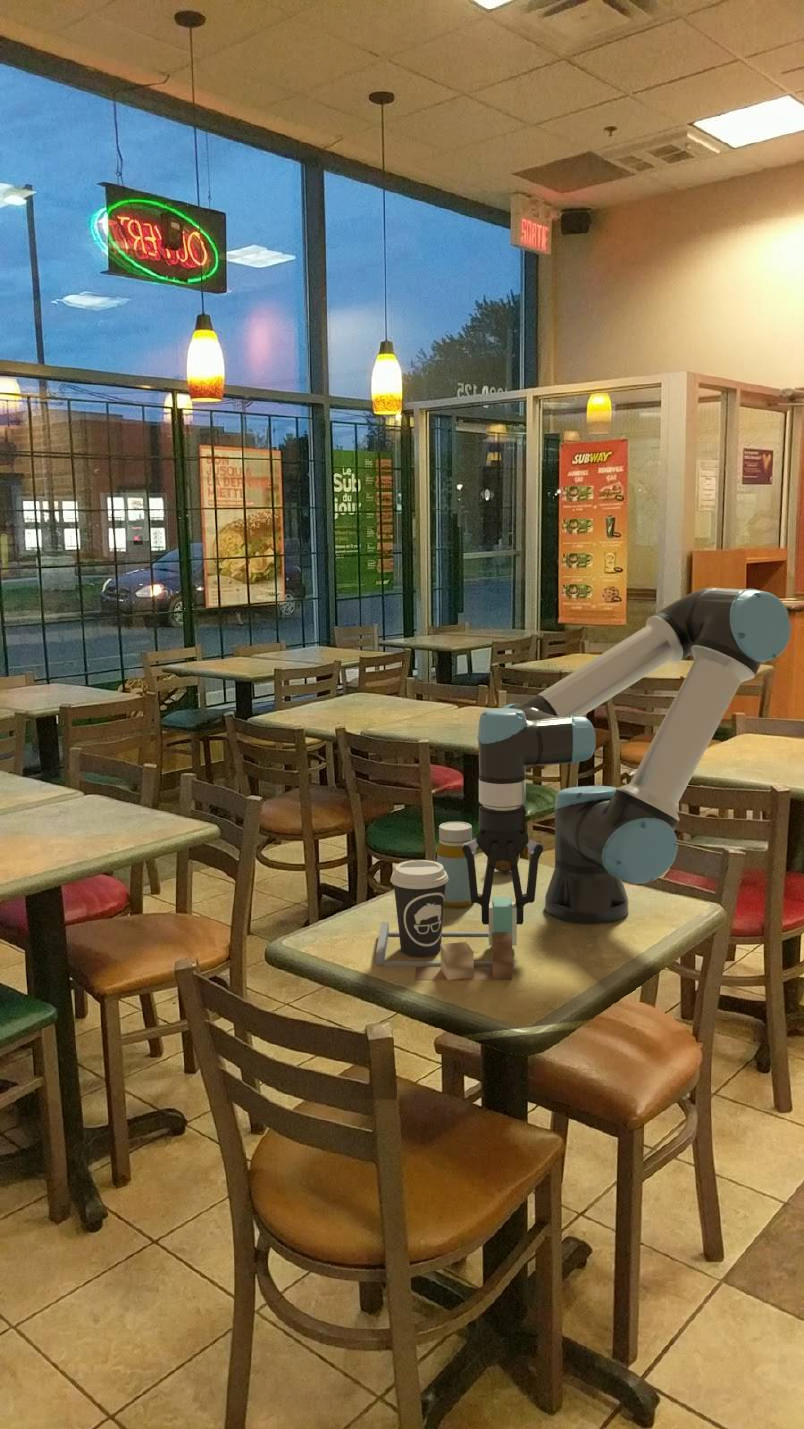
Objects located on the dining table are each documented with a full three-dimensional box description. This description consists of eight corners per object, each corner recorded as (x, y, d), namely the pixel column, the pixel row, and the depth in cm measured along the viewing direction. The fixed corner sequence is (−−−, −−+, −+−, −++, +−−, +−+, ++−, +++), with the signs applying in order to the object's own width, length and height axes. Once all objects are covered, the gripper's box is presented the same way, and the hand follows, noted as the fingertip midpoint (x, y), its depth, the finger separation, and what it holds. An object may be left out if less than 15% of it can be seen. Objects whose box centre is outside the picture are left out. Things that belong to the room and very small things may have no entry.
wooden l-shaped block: (510, 971, 167) (510, 930, 166) (512, 984, 162) (512, 942, 161) (416, 971, 168) (415, 930, 167) (415, 984, 163) (414, 942, 162)
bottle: (481, 900, 201) (480, 823, 198) (463, 911, 195) (462, 832, 192) (449, 894, 204) (448, 819, 202) (430, 904, 199) (429, 827, 196)
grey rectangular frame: (509, 938, 181) (509, 888, 180) (514, 970, 168) (513, 916, 166) (381, 938, 182) (380, 888, 181) (376, 970, 169) (375, 916, 167)
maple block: (466, 966, 168) (466, 941, 167) (473, 977, 164) (473, 951, 163) (440, 969, 167) (440, 944, 166) (447, 980, 163) (447, 954, 162)
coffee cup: (456, 946, 178) (455, 861, 176) (439, 968, 169) (438, 878, 167) (403, 940, 181) (401, 856, 179) (384, 961, 172) (381, 873, 170)
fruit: (520, 868, 219) (520, 831, 218) (518, 878, 213) (518, 839, 212) (490, 867, 220) (490, 830, 219) (487, 876, 214) (487, 838, 213)
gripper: (550, 798, 174) (549, 933, 178) (452, 799, 174) (453, 933, 178) (554, 810, 166) (553, 951, 170) (452, 810, 167) (453, 951, 171)
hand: (502, 942), depth 174 cm, fingers closed on grey rectangular frame, 3 cm apart
